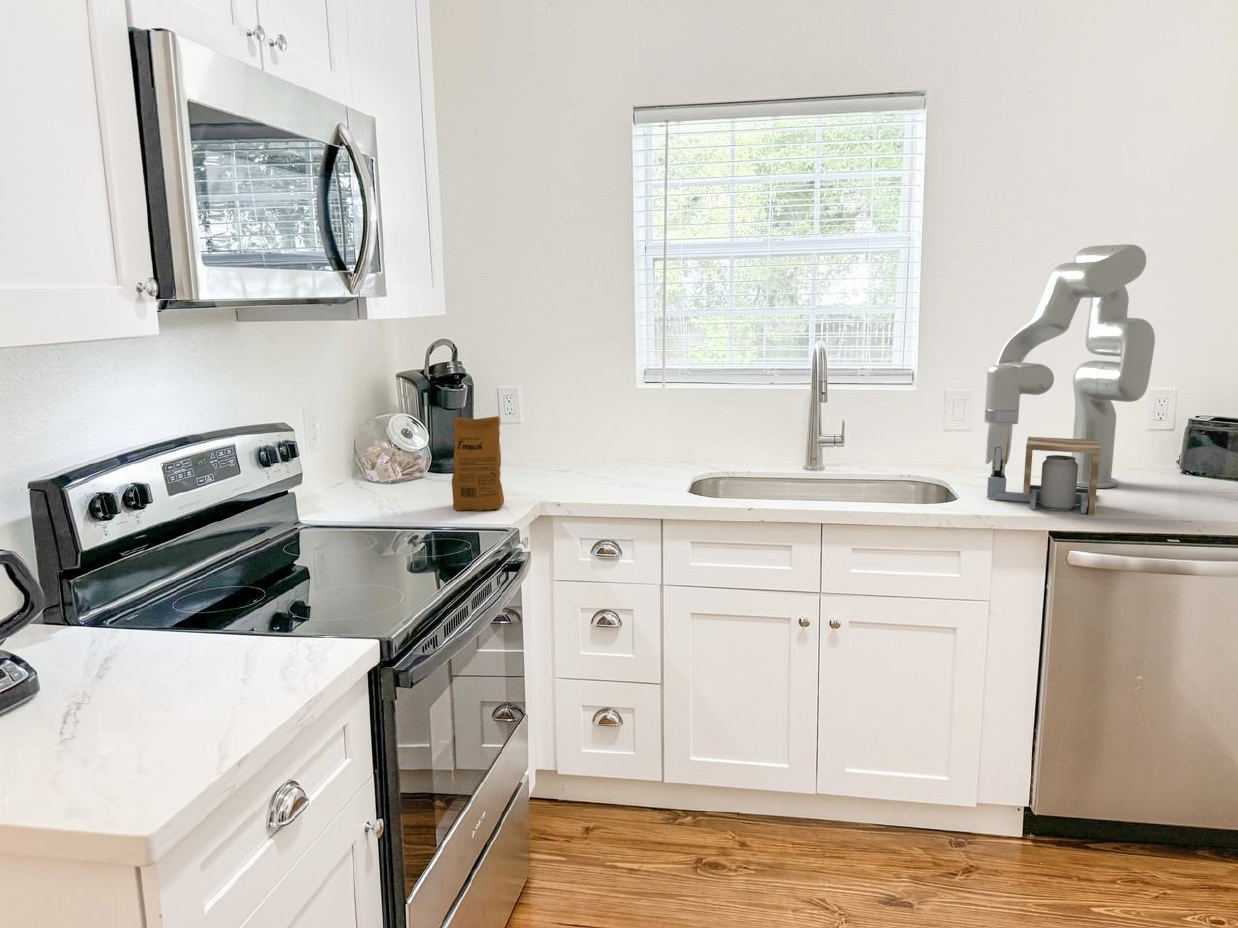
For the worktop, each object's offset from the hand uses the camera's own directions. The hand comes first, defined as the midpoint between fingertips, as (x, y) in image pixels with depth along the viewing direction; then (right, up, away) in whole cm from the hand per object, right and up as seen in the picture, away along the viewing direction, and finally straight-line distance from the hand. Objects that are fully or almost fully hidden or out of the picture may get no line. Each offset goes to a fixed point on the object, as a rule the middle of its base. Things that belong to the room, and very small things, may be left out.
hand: (997, 491), depth 228 cm
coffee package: (-126, -4, -3) cm, 126 cm away
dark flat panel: (+15, -1, 0) cm, 15 cm away
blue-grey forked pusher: (+5, -3, -10) cm, 11 cm away
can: (+9, -4, -12) cm, 15 cm away
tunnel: (+10, -3, -11) cm, 15 cm away
